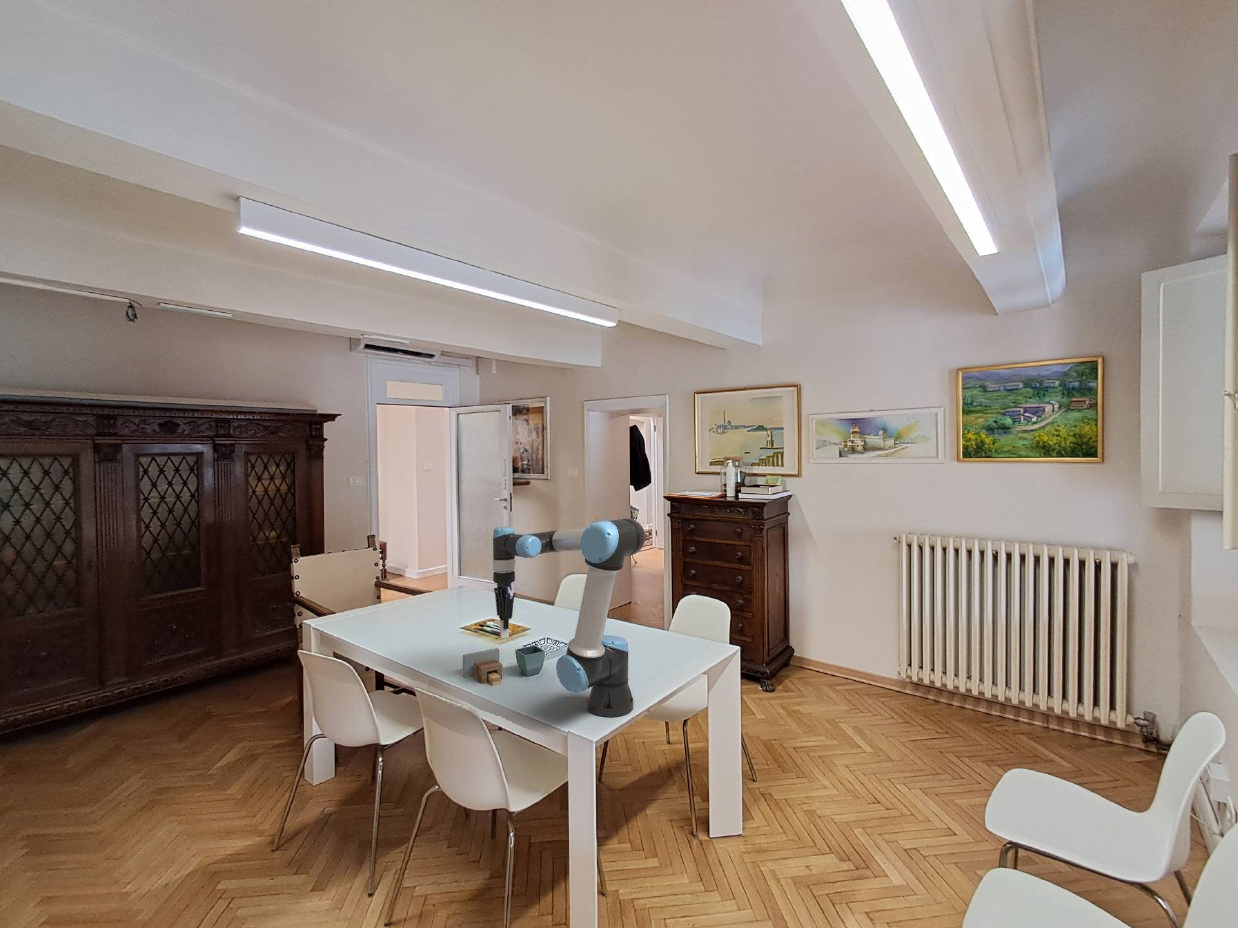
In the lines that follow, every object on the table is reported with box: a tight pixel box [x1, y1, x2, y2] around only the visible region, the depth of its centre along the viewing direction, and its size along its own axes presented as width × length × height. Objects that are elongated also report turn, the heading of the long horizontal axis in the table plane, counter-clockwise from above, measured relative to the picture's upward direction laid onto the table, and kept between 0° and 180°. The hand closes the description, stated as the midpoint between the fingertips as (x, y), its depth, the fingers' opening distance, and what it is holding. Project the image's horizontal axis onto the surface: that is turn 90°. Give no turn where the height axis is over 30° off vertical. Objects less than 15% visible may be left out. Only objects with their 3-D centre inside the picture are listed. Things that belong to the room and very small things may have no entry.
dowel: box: [487, 671, 502, 687], centre depth 211 cm, size 10×3×3 cm, turn 35°
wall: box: [462, 647, 500, 678], centre depth 219 cm, size 2×14×8 cm, turn 125°
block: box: [473, 658, 503, 685], centre depth 213 cm, size 8×8×6 cm
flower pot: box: [514, 645, 546, 677], centre depth 218 cm, size 9×9×9 cm
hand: (504, 637), depth 201 cm, fingers closed
